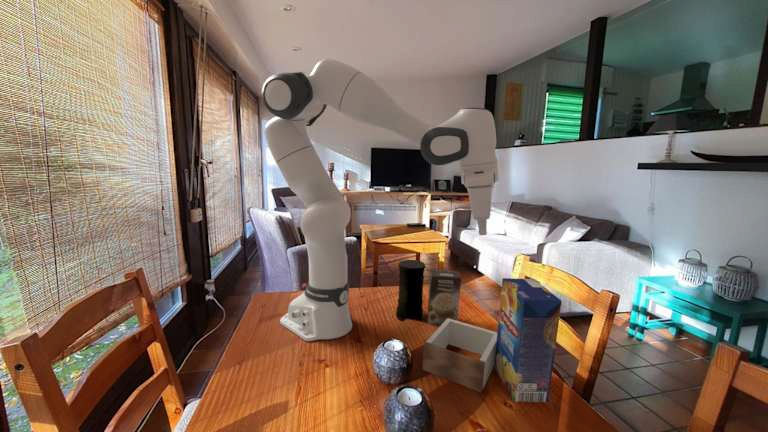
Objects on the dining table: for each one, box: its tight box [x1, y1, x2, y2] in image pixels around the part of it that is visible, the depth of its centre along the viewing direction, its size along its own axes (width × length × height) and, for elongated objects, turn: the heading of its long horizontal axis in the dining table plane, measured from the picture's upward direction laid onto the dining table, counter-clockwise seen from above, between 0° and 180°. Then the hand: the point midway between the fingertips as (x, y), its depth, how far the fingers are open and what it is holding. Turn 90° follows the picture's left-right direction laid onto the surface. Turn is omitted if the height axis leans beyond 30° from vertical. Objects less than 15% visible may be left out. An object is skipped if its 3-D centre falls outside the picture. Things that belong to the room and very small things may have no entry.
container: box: [395, 259, 426, 322], centre depth 107 cm, size 9×9×18 cm
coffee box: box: [426, 268, 462, 327], centre depth 104 cm, size 9×6×16 cm
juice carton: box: [493, 277, 563, 403], centre depth 74 cm, size 12×8×24 cm, turn 1°
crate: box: [425, 318, 497, 389], centre depth 82 cm, size 14×14×8 cm
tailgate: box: [422, 341, 485, 393], centre depth 76 cm, size 14×1×7 cm, turn 58°
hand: (482, 229), depth 85 cm, fingers open, 8 cm apart
